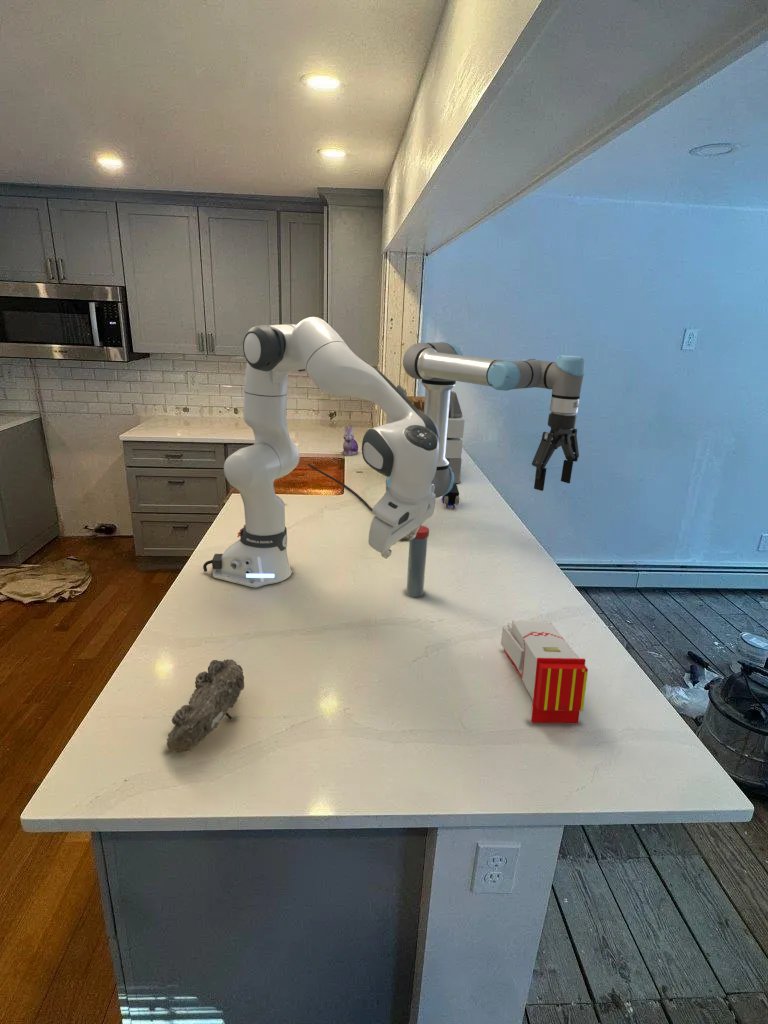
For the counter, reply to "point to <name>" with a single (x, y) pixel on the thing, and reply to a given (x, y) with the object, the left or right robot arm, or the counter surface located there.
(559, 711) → the toy
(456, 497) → the figurine character
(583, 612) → the counter surface
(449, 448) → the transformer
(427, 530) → the lid
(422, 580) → the grey cylinder
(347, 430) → the figurine
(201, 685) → the fossil
